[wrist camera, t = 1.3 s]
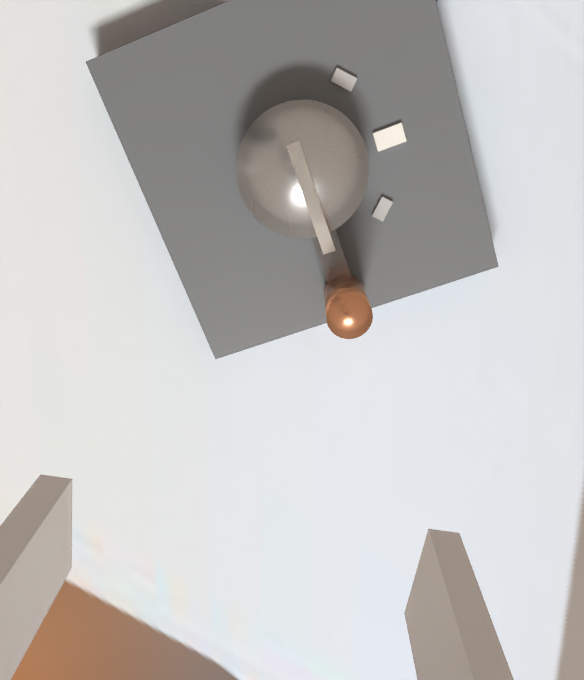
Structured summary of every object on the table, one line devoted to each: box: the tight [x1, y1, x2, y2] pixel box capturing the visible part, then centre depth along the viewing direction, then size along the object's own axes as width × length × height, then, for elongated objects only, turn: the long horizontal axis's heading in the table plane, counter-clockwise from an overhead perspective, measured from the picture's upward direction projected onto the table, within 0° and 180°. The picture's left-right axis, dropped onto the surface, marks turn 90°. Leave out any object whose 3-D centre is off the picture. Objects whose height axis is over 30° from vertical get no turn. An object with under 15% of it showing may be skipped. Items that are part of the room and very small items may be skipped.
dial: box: [236, 100, 373, 339], centre depth 30 cm, size 12×7×4 cm, turn 20°
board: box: [86, 0, 498, 359], centre depth 32 cm, size 18×18×2 cm
